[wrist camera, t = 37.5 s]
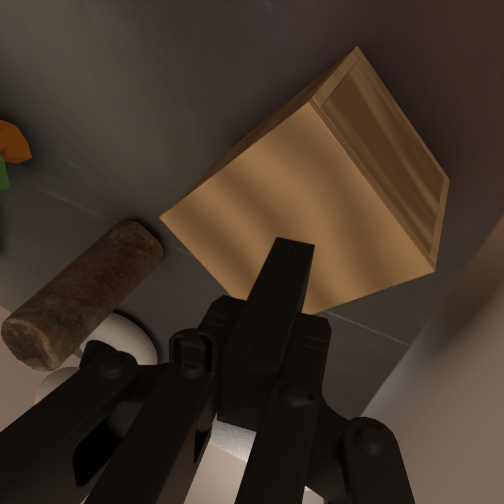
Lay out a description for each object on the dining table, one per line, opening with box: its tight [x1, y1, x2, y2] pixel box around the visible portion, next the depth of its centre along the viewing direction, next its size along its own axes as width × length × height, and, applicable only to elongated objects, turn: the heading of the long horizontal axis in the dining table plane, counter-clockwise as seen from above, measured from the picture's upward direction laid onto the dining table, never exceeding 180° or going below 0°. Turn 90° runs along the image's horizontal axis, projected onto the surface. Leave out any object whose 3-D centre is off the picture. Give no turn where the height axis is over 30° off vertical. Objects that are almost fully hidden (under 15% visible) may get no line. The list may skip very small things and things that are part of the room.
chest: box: [172, 46, 450, 263], centre depth 37 cm, size 16×14×12 cm
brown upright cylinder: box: [1, 221, 164, 371], centre depth 52 cm, size 8×7×20 cm
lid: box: [159, 98, 436, 315], centre depth 33 cm, size 16×14×1 cm
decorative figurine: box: [34, 312, 157, 405], centre depth 69 cm, size 15×15×20 cm
